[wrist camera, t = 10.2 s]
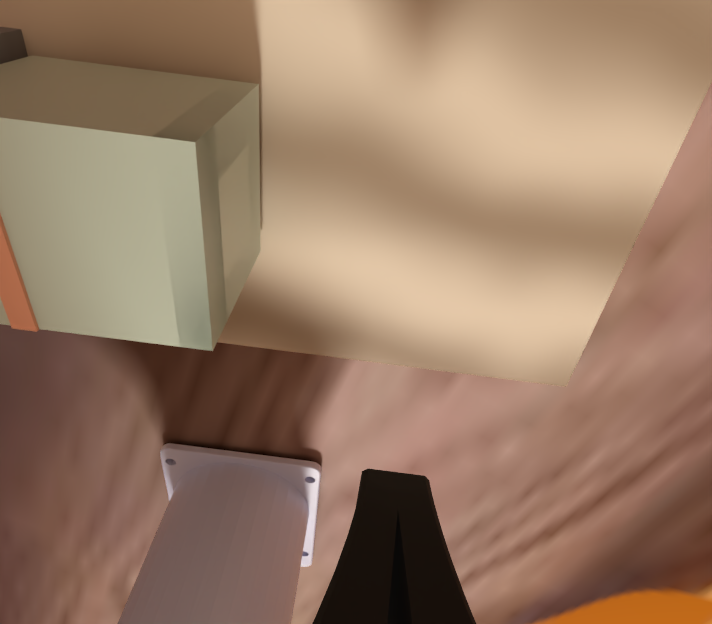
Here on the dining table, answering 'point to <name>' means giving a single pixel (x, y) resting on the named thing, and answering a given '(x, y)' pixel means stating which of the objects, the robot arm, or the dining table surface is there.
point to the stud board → (426, 159)
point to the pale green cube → (126, 200)
